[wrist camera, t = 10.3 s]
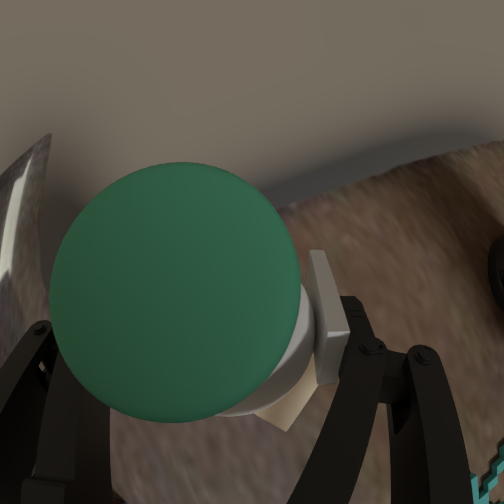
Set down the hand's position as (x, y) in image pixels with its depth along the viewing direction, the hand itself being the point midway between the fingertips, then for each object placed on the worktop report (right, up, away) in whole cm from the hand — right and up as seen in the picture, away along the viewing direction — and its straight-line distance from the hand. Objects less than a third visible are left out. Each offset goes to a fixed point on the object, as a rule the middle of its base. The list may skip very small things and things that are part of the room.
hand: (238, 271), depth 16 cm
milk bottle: (0, -6, +7) cm, 10 cm away
